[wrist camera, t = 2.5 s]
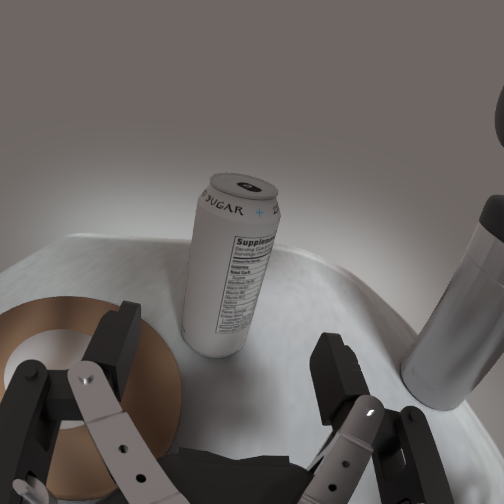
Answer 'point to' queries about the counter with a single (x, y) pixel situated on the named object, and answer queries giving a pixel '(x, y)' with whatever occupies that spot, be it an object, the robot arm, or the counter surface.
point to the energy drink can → (228, 261)
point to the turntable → (70, 352)
